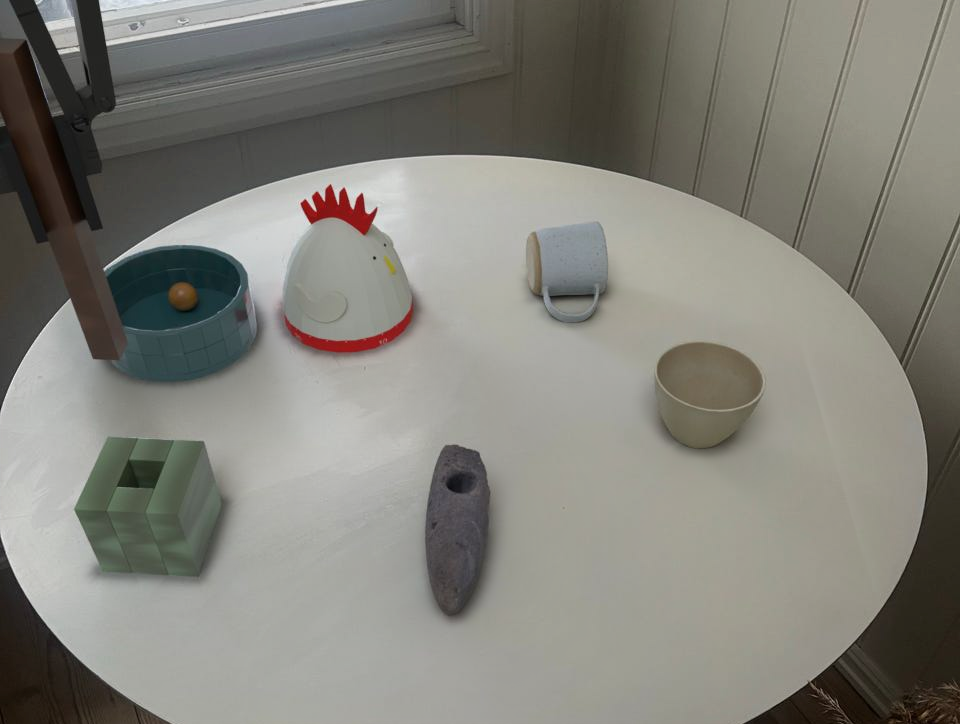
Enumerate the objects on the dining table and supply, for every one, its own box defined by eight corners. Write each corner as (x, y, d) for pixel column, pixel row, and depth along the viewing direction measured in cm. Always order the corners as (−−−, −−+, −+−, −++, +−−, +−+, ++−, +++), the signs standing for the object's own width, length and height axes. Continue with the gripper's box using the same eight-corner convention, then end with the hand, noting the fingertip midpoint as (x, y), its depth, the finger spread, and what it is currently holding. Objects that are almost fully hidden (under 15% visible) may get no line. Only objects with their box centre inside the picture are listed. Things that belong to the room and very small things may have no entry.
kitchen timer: (379, 366, 95) (369, 238, 84) (261, 335, 98) (236, 208, 87) (431, 291, 104) (428, 167, 93) (321, 265, 107) (305, 142, 96)
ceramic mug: (521, 271, 107) (525, 212, 101) (590, 266, 107) (598, 208, 102) (538, 329, 100) (543, 269, 94) (612, 323, 100) (621, 264, 95)
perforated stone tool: (479, 634, 73) (480, 581, 68) (412, 629, 73) (409, 575, 68) (493, 494, 83) (495, 438, 78) (435, 489, 83) (433, 434, 78)
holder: (103, 572, 76) (73, 509, 70) (133, 500, 82) (107, 436, 76) (199, 577, 76) (177, 514, 70) (222, 505, 82) (204, 440, 76)
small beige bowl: (753, 408, 91) (771, 351, 86) (741, 478, 85) (760, 421, 80) (653, 386, 93) (664, 330, 88) (634, 453, 87) (645, 396, 81)
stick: (92, 359, 67) (-23, 51, 51) (102, 342, 69) (-8, 37, 53) (119, 360, 67) (12, 53, 51) (128, 343, 69) (27, 38, 53)
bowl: (84, 379, 93) (65, 331, 88) (132, 288, 103) (118, 241, 99) (238, 386, 92) (227, 339, 88) (270, 294, 103) (262, 247, 98)
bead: (170, 316, 99) (159, 295, 96) (180, 296, 100) (170, 275, 98) (196, 317, 98) (186, 296, 96) (206, 298, 100) (196, 276, 98)
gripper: (-290, -185, 38) (-58, 287, 55) (98, -216, 43) (201, 225, 61) (-283, -221, 43) (-70, 226, 60) (68, -245, 48) (171, 173, 65)
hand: (66, 225), depth 60 cm, fingers closed on stick, 3 cm apart
